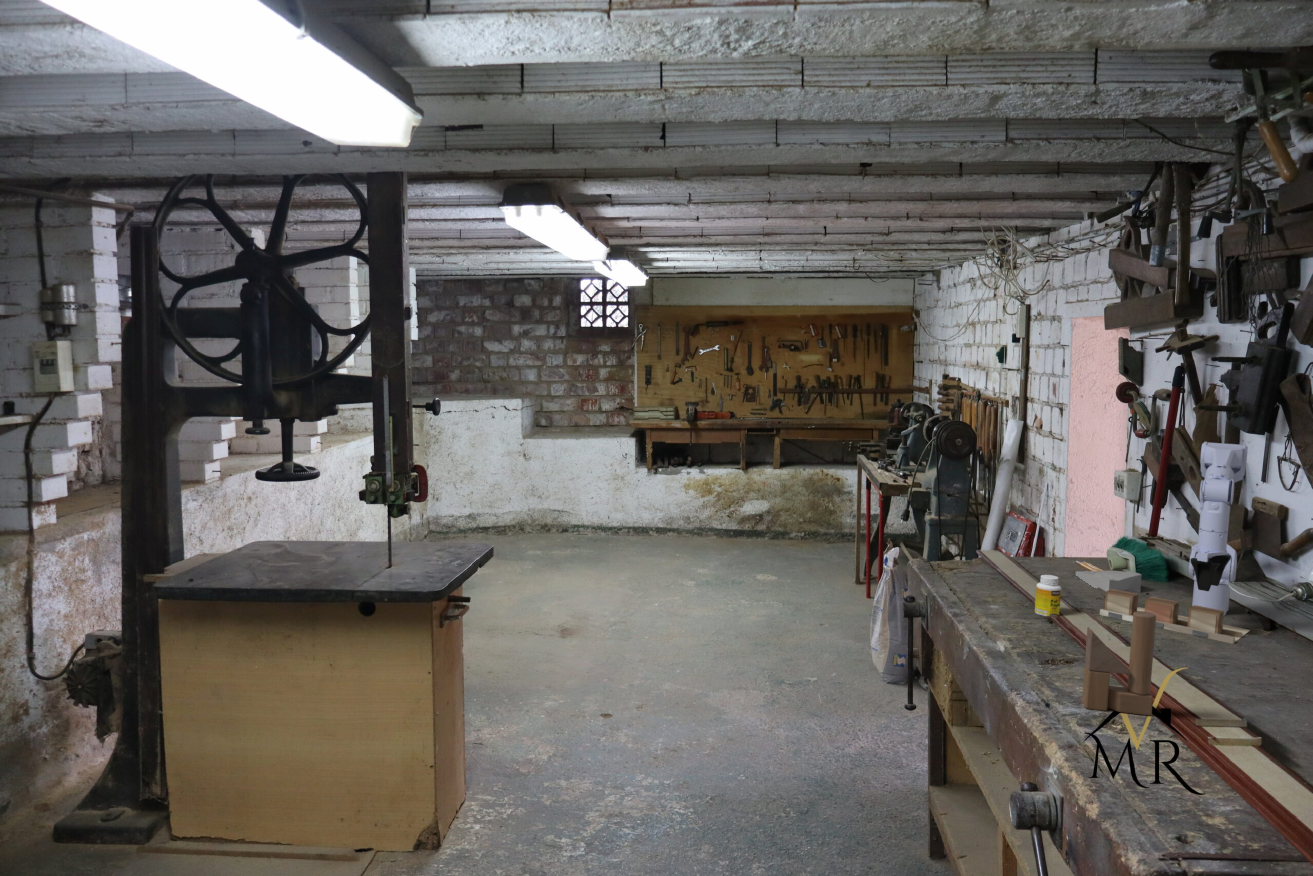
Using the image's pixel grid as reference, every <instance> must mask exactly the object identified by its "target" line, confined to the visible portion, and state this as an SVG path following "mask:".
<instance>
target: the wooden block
mask: <svg viewBox="0 0 1313 876" xmlns="http://www.w3.org/2000/svg"><path fill="white" fill-rule="evenodd" d="M1155 625H1156V616H1155V614H1153V613H1150V612H1145V611H1136V612H1134V613H1133V622H1132V625H1131V638H1130V649H1129V650H1130V652H1129V662H1128V663H1129V664H1128V667H1127V666H1126V665H1125V664H1124V663H1123V661H1121V659H1119V658H1118V656H1117V655H1116V654H1115V653H1114V652H1113V651H1112V650H1111V649H1110V648H1109V647H1108V646H1107V645H1106V644H1105V643H1104V641H1103V640H1101V638H1100V637H1099V636H1098V635H1097V634H1096V633H1095V632H1094V631H1093V629H1091V628H1090V627H1089V626H1087V627H1086V628H1087V631H1086V641H1085V642H1086V643H1085V653H1084V655H1085V657H1084V670H1083V681H1082V682H1083V686H1082V697H1081V702H1082V704H1083V705H1084V707H1085V709H1087V710H1088V709H1089V710H1095V711H1096V710H1097V711H1104V712H1106V711H1107V710H1108V709H1110V710H1112V711H1115V712H1118V713H1124V714H1135V715H1141V716H1142V715H1143V716H1152V713H1153V701H1154V700H1153V699H1154V697H1153V695H1152V694H1151V685H1152V674H1153V673H1152V672H1153V661H1154V649H1155V648H1154V647H1155V635H1156V627H1155ZM1111 673H1114V674H1124V675H1128V676H1127V687H1124V686H1123V687H1122V686H1115V685H1114V686H1113V685H1110V677H1111V676H1110V675H1111Z"/></svg>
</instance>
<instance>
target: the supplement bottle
mask: <svg viewBox="0 0 1313 876" xmlns="http://www.w3.org/2000/svg"><path fill="white" fill-rule="evenodd" d="M1039 579H1040V582H1038V583H1037V584H1036V588H1035V589H1036V590H1035V600H1034V601H1035V602H1034V613H1035V614H1037V615H1039V616H1040V615H1041V616H1043V617H1053V618H1054V617H1058V616H1057V615H1058V614H1059V615H1060V613H1059V612H1060V609H1061V598H1062V586H1061V585H1060V584H1059V577H1058V576H1056V575H1052V574H1042V575H1040V578H1039Z"/></svg>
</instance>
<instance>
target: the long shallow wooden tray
mask: <svg viewBox="0 0 1313 876" xmlns="http://www.w3.org/2000/svg"><path fill="white" fill-rule="evenodd" d="M1137 611H1145V607H1140V606H1137ZM1099 615H1100V616H1103V617H1109V618H1114V619H1117V620H1122V621H1127V622H1132V623H1133V616H1132V615H1128V614H1123V613H1118V612H1114V611H1109V610H1105V608H1101V609H1099ZM1155 628H1160V629H1164V630H1167V631H1173V632H1177V633H1183V634H1187V635H1192V636H1196V637H1201V638H1204V639H1205V638H1206V639H1209V640H1214V641H1219V642H1222V643H1223V642H1224V643H1229V644H1232V645H1234V644H1235V643H1236V642H1237V641H1238V640H1240V639H1241V638H1242V637H1244V636H1245V635H1246V634H1247V633H1249V632H1250V631H1251V629H1247V628H1243V627H1237V626H1233V625H1227V624H1224V623H1223V629H1222V634H1217V633H1213V632H1208V631H1203V630H1198V629H1194V628H1189V627H1188V616H1185V615H1179V614H1178V623H1177V625H1175V624H1170V623H1165V622H1161V621H1156V625H1155Z"/></svg>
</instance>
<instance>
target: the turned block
mask: <svg viewBox="0 0 1313 876" xmlns="http://www.w3.org/2000/svg"><path fill="white" fill-rule="evenodd" d="M1144 608H1145V612H1150V613H1153V614H1155V616H1156V621H1161V622H1165V623H1170V624H1175V625H1177V623H1178V615H1179V609H1180V601H1176V600H1172V599H1171V600H1170V599H1166V598H1160V597H1156V596H1150V597H1148V598H1145V604H1144Z"/></svg>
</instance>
